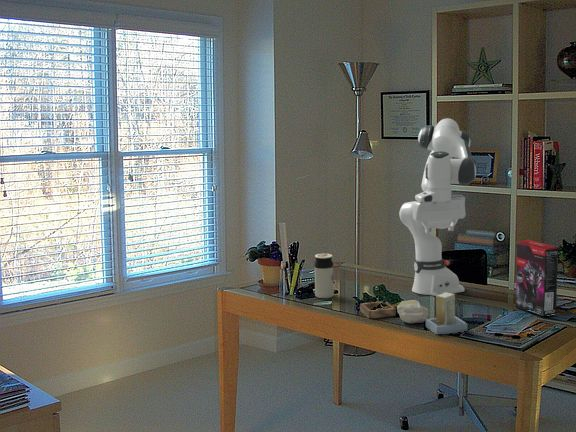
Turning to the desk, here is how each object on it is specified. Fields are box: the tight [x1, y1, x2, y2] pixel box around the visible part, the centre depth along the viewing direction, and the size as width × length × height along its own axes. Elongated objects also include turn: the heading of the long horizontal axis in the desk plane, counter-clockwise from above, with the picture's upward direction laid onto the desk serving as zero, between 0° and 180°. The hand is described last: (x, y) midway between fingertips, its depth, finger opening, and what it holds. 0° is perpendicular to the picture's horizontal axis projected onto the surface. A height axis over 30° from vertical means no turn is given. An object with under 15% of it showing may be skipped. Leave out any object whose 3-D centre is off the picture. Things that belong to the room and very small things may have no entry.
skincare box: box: [435, 292, 456, 326], centre depth 289 cm, size 6×4×12 cm
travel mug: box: [313, 253, 335, 299], centre depth 338 cm, size 8×8×18 cm
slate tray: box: [425, 315, 468, 336], centre depth 290 cm, size 12×10×3 cm
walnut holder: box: [359, 301, 397, 319], centre depth 312 cm, size 11×11×3 cm
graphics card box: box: [514, 239, 559, 316], centre depth 306 cm, size 17×7×27 cm, turn 23°
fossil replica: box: [396, 299, 430, 324], centre depth 300 cm, size 12×8×10 cm
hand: (439, 231), depth 297 cm, fingers open, 8 cm apart
